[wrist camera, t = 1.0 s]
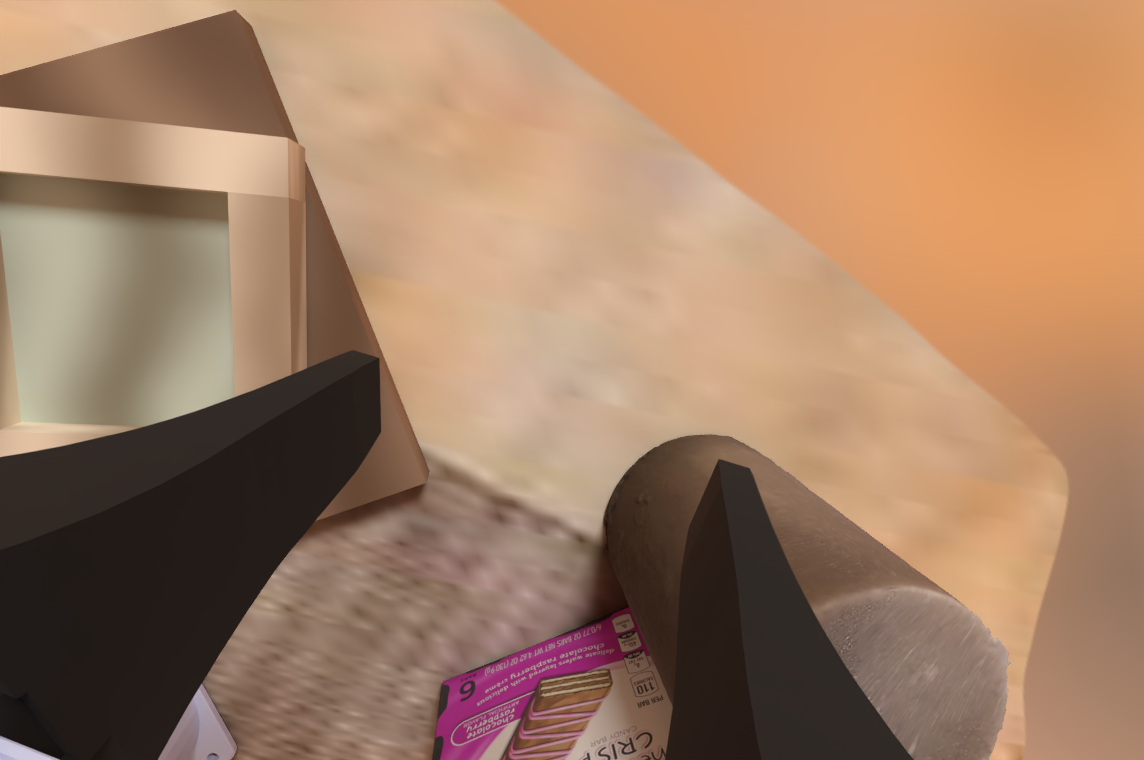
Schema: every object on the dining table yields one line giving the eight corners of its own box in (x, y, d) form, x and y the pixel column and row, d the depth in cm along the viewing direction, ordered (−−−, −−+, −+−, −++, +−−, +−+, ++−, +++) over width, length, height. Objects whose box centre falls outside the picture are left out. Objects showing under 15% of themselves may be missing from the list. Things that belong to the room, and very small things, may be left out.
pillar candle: (566, 509, 29) (651, 775, 14) (726, 393, 29) (975, 543, 14) (669, 639, 31) (829, 975, 17) (817, 533, 31) (1105, 781, 17)
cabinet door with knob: (-16, 463, 23) (-75, 488, 20) (-60, 109, 20) (-134, 89, 18) (308, 471, 25) (288, 494, 22) (305, 148, 22) (282, 134, 20)
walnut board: (87, 588, 26) (62, 609, 25) (-176, 145, 21) (-228, 137, 20) (429, 470, 27) (425, 483, 26) (251, 25, 23) (234, 9, 21)
